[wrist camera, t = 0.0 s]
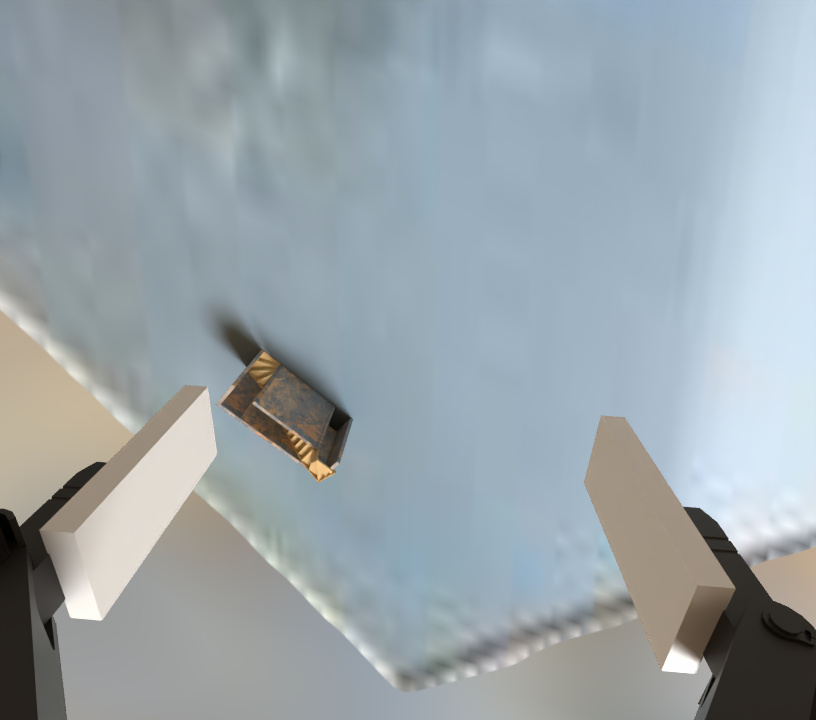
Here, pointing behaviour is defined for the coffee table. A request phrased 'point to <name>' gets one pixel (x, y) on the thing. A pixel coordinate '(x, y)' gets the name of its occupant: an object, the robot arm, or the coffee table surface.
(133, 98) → the coffee table surface
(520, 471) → the coffee table surface
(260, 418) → the ruin model on sheet
